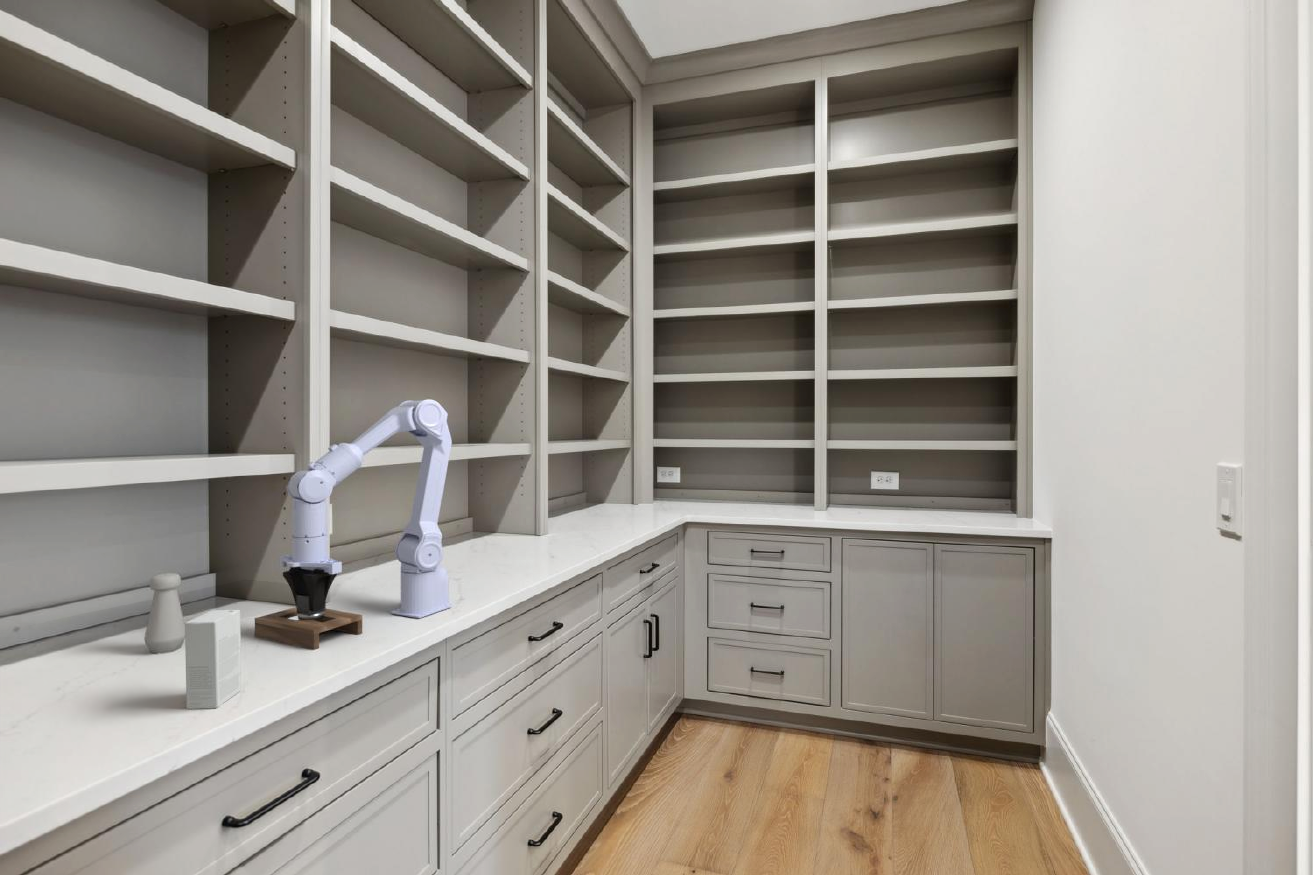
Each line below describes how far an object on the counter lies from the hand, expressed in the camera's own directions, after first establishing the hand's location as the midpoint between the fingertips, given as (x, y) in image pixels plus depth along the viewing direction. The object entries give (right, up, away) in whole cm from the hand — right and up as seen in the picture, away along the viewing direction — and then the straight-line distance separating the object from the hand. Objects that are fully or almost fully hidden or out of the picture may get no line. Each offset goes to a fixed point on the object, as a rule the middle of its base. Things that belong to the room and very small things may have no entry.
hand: (310, 608), depth 119 cm
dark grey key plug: (0, -4, 0) cm, 4 cm away
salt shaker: (-21, -5, -8) cm, 23 cm away
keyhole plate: (+1, -5, 0) cm, 5 cm away
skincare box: (+2, -6, -28) cm, 29 cm away
